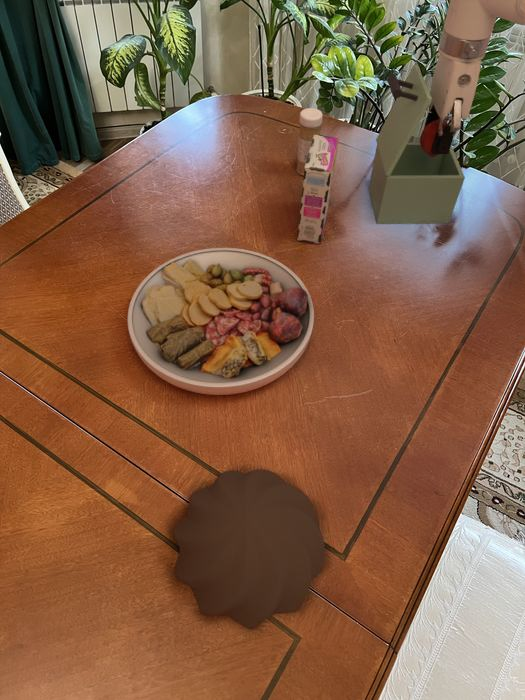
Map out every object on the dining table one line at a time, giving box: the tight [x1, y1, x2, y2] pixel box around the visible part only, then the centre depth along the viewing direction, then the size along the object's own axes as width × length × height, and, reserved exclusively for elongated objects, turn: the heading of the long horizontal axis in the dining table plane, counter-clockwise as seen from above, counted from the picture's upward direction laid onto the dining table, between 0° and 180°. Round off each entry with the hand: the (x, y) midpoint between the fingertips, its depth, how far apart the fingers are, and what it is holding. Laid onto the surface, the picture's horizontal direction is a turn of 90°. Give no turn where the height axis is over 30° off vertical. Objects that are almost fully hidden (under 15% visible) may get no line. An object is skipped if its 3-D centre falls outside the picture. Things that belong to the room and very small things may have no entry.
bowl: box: [127, 247, 315, 396], centre depth 93 cm, size 30×30×8 cm
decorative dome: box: [172, 468, 326, 630], centre depth 70 cm, size 19×20×10 cm
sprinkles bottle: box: [296, 107, 324, 177], centre depth 119 cm, size 5×5×13 cm
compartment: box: [367, 142, 466, 225], centre depth 114 cm, size 15×12×11 cm
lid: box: [375, 63, 432, 176], centre depth 102 cm, size 15×12×5 cm
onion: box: [419, 119, 450, 157], centre depth 106 cm, size 6×6×8 cm
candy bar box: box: [296, 134, 340, 245], centre depth 107 cm, size 11×5×16 cm, turn 168°
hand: (435, 142), depth 107 cm, fingers closed on onion, 5 cm apart
